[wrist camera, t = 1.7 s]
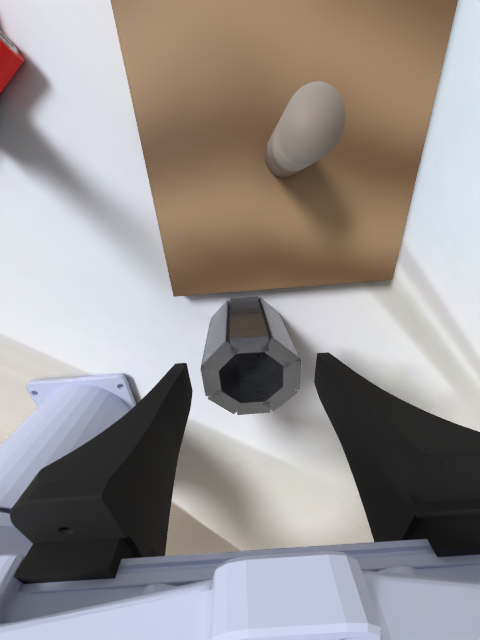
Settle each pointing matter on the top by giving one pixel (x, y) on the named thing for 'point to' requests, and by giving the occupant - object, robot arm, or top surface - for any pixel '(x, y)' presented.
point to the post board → (244, 100)
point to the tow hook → (8, 61)
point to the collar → (249, 358)
